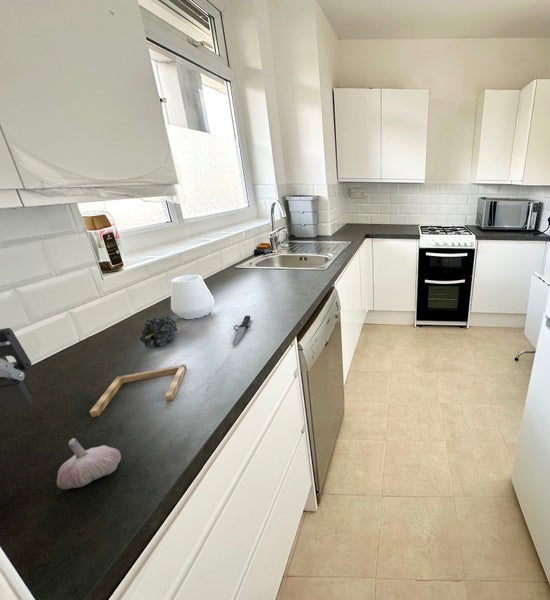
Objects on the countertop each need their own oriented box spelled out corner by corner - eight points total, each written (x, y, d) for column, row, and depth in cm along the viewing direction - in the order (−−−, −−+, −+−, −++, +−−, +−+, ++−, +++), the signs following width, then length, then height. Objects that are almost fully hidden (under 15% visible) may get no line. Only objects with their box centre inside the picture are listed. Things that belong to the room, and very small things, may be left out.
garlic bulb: (48, 498, 48) (24, 460, 45) (88, 459, 55) (70, 423, 52) (100, 494, 49) (80, 456, 46) (133, 455, 56) (118, 420, 53)
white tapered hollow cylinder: (225, 311, 116) (216, 275, 111) (188, 325, 105) (177, 286, 100) (202, 305, 122) (193, 271, 117) (166, 318, 111) (154, 281, 106)
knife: (241, 341, 91) (222, 343, 90) (242, 347, 92) (224, 349, 91) (254, 314, 108) (238, 315, 107) (255, 319, 109) (240, 320, 108)
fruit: (158, 304, 99) (135, 322, 86) (188, 308, 102) (171, 327, 89) (155, 328, 101) (133, 350, 88) (185, 332, 104) (168, 354, 91)
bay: (173, 400, 69) (171, 394, 69) (92, 417, 65) (89, 411, 64) (187, 368, 81) (185, 364, 80) (119, 381, 76) (116, 376, 76)
